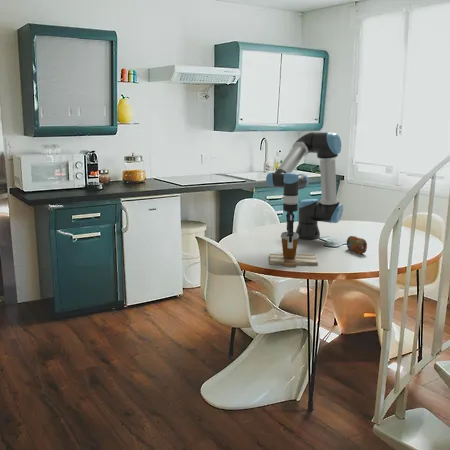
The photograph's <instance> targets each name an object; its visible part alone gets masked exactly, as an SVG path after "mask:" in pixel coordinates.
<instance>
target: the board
mask: <svg viewBox="0 0 450 450" xmlns="http://www.w3.org/2000/svg"><path fill="white" fill-rule="evenodd" d="M269 264H270V265H275V266H277V265H278V266H284V267H285V268H286V267H289V268H292V267H293V268H295V267H297V266H319V262H318V259H317V256H316V254H315V253H296V256H295V257H292V258H288V257H284V256H283V253H277V252H275V253H271V252H270V253H269Z"/></svg>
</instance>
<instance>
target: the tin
mask: <svg viewBox="0 0 450 450" xmlns="http://www.w3.org/2000/svg"><path fill="white" fill-rule="evenodd" d="M346 247H347V249H348V250H349V251H350V252H353V253H355V254H359V255H360V254H364V253H366V251H367V248H368V243H367V241H366V239H365V238H361V237H358V236H356V235H350V236H348V237H347V240H346Z"/></svg>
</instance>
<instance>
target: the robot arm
mask: <svg viewBox="0 0 450 450" xmlns="http://www.w3.org/2000/svg"><path fill="white" fill-rule="evenodd" d="M341 151H342V140H341V137H340V136H339V134H338V133H335V132H330V131H329V132H320V131H319V132H316V131H315V132H313V131H311V132H307V133H305V134H304V135H302V136H301V137H299V138H298V139H296V141H295V142H294V143H293V144H292V149H291V150H290V151H289V153H288V154H287V155H286V157H284V160H282V162H281V163H280V165H279V166H278V167H277V169H276V170H275V171H273V172H268V173H267V175H266V176H265V177H266V178H265V182H266V185H267V187H271V188H279V189H280V188H281V189H283V196H281V198H282V199H283V200H282V202H283V204H282V211H283V212H286V215H285V216H286V232H288V235H287V236H288V246H287V248H293V235H294V234H293V232H294V224H295V214H294V212H297V211H298V220H297V221H298V223H297V227H296V229H295V232H296V233H298V235H299V238H298V239H300V240H301V239H302V240H316V239H317V240H318V239H319V238H320V237H321V233H320V228H319V225H318V222H323V223H330V224H337V223H339V222H340V221H341V219H342V216H343V212H344V205H343V204H342V203H340V199H339V198H338V197H337V178H336V177H337V172H336V171H337V170H336V159H337V157H338V156H339V154H340V153H341ZM312 153H313V154H314V153H315V154H316V157H317V159H319V167H320V184H321V185H320V187H321V192H320V193H321V198H320V199H318V198H308V199H301V200H300V201H299V190H302V189H303V190H304V189H305V188H307V186H308V185H309V183H310V179H309V176H308V175H307V174H305V173H298V172H293V171H294V170H295V169H296V167H297V166H298V165H299V163H300V162H301V160H302V159H303V158H304V157H307V155H308V154H312ZM298 203H299V204H298Z"/></svg>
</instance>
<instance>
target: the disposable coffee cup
mask: <svg viewBox="0 0 450 450" xmlns="http://www.w3.org/2000/svg"><path fill="white" fill-rule="evenodd" d="M293 234H294V235H293V248H287V246H288V236H287V235H288V232H287V231H284V232H281V234H280V238H281V247H282V254H283V256H284V257H288V258H292V257H295V256H296V254H297V248H298V241H299V239H300V238H299V235H298V233H296V231H293Z"/></svg>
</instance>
